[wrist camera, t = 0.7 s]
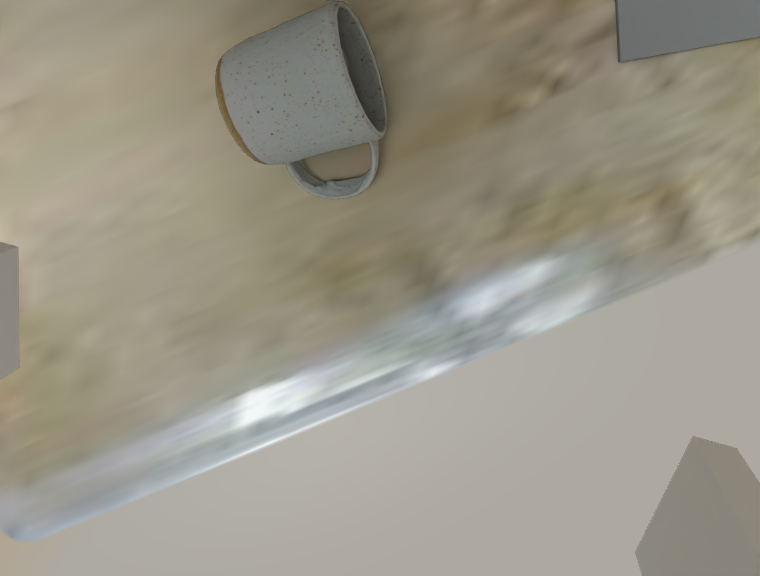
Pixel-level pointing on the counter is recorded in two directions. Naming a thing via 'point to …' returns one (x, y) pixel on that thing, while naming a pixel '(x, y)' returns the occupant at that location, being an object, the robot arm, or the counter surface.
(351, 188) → the ceramic mug
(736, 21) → the mat
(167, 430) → the counter surface
